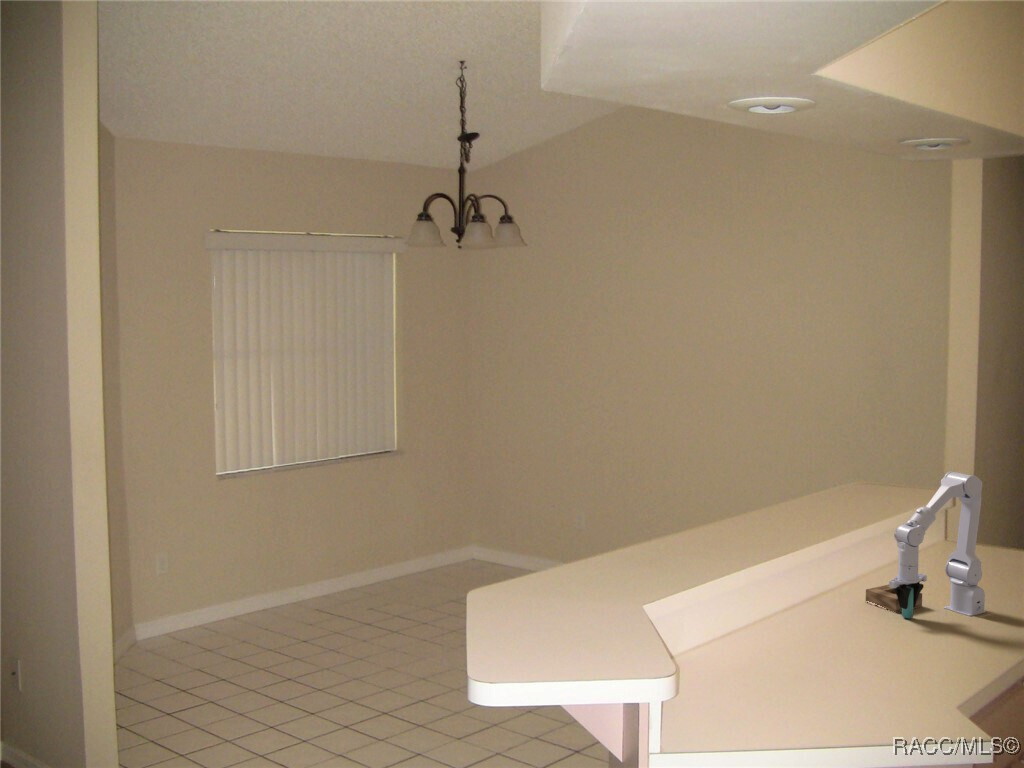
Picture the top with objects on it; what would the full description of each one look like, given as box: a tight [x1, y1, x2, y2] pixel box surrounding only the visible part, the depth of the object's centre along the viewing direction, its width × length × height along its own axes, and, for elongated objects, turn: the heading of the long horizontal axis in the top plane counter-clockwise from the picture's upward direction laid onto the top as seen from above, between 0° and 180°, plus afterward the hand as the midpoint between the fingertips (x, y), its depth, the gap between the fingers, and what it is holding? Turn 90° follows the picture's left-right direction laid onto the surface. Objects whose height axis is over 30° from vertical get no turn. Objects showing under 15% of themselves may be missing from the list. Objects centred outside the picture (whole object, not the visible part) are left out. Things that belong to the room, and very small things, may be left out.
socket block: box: [865, 584, 923, 614], centre depth 304 cm, size 12×12×4 cm
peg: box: [901, 586, 914, 619], centre depth 291 cm, size 3×3×9 cm
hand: (907, 607), depth 291 cm, fingers closed on peg, 3 cm apart
